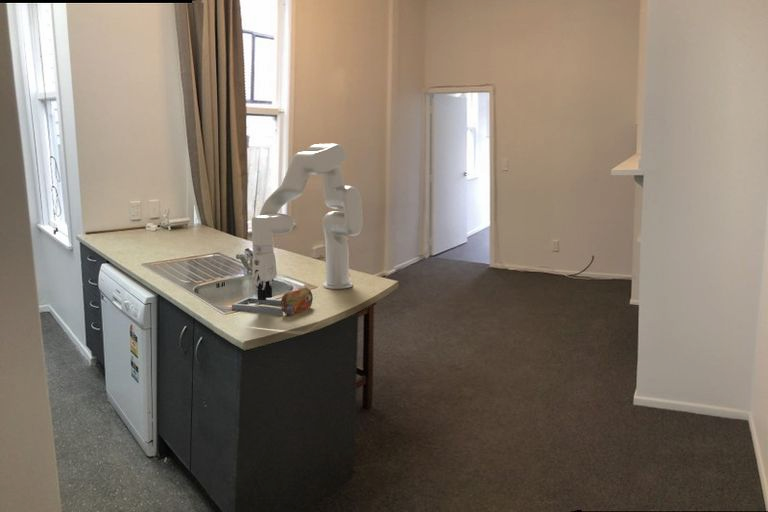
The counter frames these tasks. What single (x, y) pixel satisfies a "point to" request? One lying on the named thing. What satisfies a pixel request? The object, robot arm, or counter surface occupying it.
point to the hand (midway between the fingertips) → (264, 298)
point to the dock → (260, 309)
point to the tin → (296, 301)
